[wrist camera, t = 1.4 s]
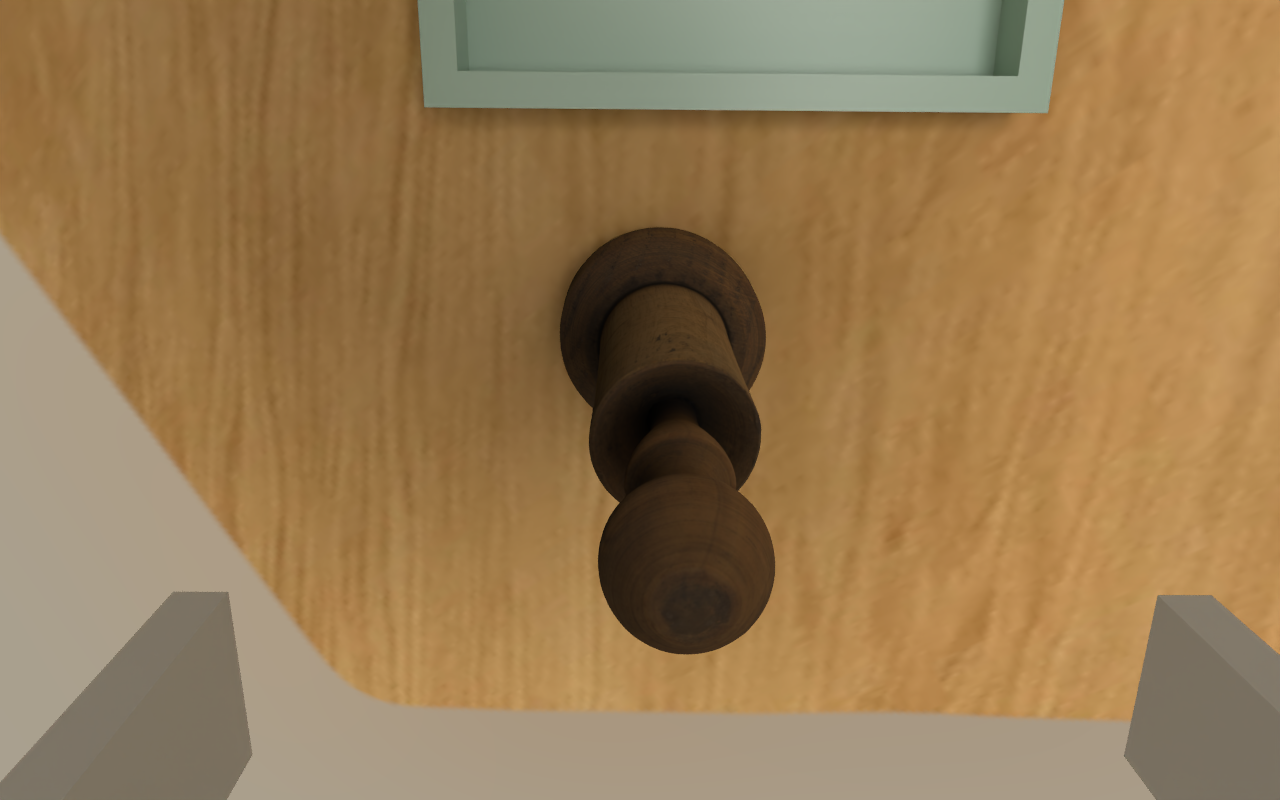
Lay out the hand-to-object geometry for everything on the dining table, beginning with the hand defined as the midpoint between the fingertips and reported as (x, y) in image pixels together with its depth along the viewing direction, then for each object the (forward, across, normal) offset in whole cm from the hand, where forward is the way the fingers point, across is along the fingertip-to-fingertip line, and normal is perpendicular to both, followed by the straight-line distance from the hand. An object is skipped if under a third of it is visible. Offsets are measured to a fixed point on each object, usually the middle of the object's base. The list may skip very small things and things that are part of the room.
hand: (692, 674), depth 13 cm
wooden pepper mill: (+20, 0, 0) cm, 20 cm away
